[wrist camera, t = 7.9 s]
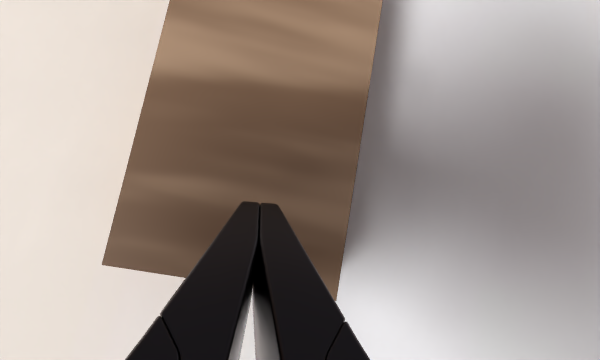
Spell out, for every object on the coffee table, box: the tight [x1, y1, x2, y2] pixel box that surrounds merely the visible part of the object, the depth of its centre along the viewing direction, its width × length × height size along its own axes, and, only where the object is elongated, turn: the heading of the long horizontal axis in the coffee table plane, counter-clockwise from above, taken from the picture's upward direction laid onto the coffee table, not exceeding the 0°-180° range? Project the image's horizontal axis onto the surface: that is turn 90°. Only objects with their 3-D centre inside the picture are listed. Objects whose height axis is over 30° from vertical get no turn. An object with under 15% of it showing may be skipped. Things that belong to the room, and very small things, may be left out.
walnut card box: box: [102, 0, 383, 301], centre depth 14 cm, size 4×8×15 cm
